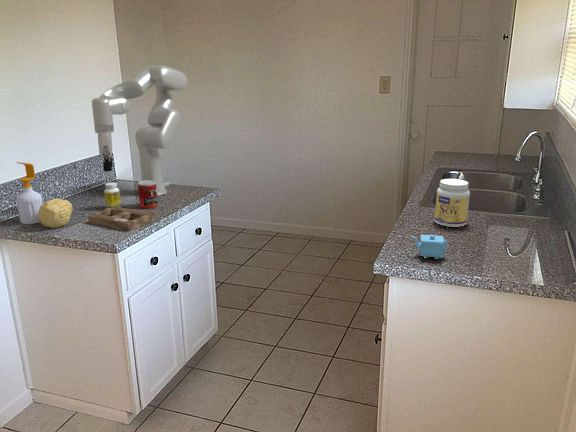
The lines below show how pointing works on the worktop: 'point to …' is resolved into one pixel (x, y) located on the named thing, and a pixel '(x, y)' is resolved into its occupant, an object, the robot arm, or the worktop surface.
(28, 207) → the soap bottle
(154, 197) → the canned food
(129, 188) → the worktop surface
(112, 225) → the socket rack
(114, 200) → the pill bottle
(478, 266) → the worktop surface
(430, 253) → the teapot
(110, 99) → the robot arm
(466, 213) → the supplement tub
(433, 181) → the worktop surface
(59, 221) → the sculpture
